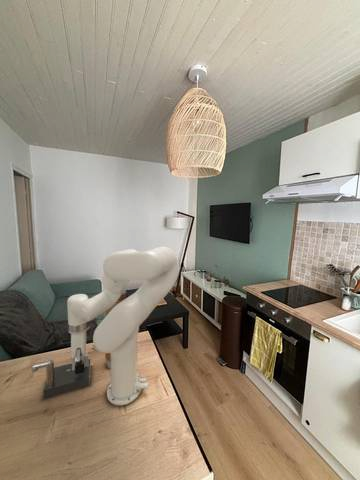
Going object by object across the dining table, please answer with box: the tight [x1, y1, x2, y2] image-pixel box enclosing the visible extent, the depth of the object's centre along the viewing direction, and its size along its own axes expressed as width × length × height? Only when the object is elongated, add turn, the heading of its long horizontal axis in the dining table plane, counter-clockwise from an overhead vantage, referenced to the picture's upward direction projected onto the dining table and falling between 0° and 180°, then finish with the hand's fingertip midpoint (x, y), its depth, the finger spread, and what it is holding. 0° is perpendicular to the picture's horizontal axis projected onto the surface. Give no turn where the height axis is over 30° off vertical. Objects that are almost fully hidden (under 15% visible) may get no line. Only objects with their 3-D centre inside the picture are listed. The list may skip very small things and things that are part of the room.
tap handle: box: [71, 352, 90, 371], centre depth 80 cm, size 6×2×5 cm, turn 113°
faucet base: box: [42, 358, 94, 400], centre depth 78 cm, size 17×11×4 cm, turn 113°
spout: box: [31, 359, 55, 387], centre depth 71 cm, size 7×2×9 cm, turn 113°
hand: (80, 365), depth 80 cm, fingers open, 7 cm apart
